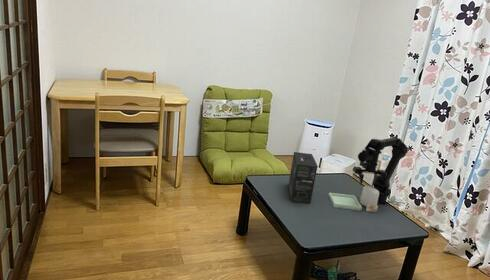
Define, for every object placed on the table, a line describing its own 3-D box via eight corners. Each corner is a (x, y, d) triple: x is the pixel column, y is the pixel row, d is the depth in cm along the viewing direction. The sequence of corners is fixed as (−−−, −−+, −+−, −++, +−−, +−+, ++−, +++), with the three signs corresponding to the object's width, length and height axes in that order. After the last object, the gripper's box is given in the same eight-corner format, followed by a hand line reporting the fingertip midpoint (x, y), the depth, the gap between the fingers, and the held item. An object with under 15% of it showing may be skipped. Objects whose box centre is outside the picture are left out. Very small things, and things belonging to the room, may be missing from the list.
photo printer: (358, 203, 231) (362, 184, 228) (362, 202, 233) (367, 183, 230) (372, 210, 223) (377, 191, 220) (377, 209, 226) (381, 190, 222)
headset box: (311, 203, 221) (318, 162, 214) (290, 201, 221) (297, 159, 214) (305, 188, 243) (312, 150, 236) (287, 186, 243) (293, 148, 236)
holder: (368, 201, 235) (370, 196, 234) (376, 211, 221) (377, 206, 220) (359, 200, 235) (360, 195, 234) (366, 210, 221) (367, 205, 220)
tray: (353, 199, 236) (354, 195, 235) (361, 210, 220) (361, 206, 220) (328, 196, 235) (329, 192, 235) (334, 207, 220) (334, 203, 219)
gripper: (382, 158, 229) (377, 182, 233) (352, 154, 228) (347, 178, 232) (389, 164, 218) (383, 189, 222) (358, 160, 217) (352, 185, 221)
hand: (366, 185), depth 224 cm, fingers open, 7 cm apart
